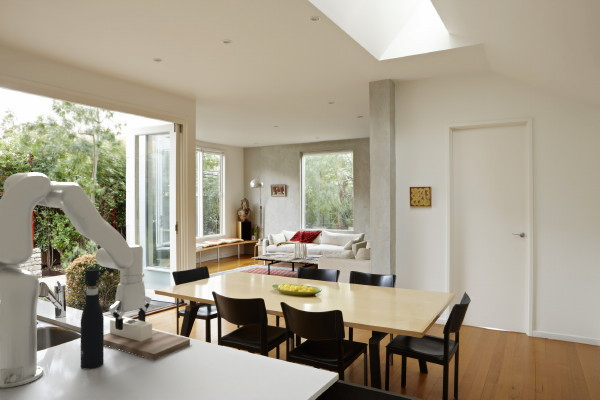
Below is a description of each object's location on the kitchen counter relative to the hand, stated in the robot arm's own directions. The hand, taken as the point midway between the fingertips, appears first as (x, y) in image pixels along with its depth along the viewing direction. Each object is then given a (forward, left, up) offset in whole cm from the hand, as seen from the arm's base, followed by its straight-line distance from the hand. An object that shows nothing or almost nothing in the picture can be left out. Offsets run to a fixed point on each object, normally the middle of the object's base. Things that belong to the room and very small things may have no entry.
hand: (130, 325), depth 151 cm
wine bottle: (-19, +10, -6) cm, 22 cm away
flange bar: (0, 0, -4) cm, 4 cm away
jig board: (-4, -4, -6) cm, 8 cm away
